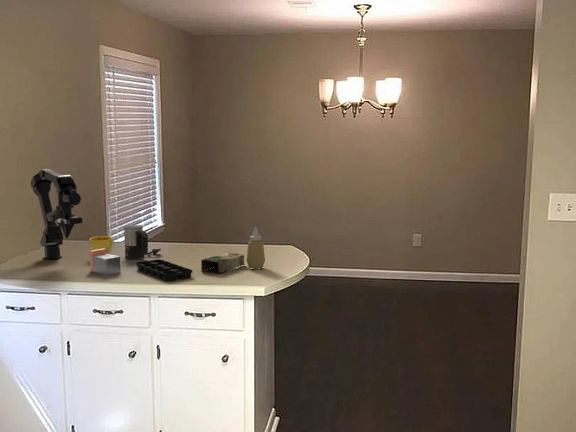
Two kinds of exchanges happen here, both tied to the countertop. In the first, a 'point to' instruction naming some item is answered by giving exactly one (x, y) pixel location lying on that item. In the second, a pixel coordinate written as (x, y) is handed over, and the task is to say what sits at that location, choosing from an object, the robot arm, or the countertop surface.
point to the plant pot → (101, 243)
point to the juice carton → (223, 262)
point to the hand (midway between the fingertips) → (66, 237)
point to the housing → (106, 264)
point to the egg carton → (164, 270)
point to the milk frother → (136, 242)
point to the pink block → (93, 253)
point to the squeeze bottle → (255, 251)
